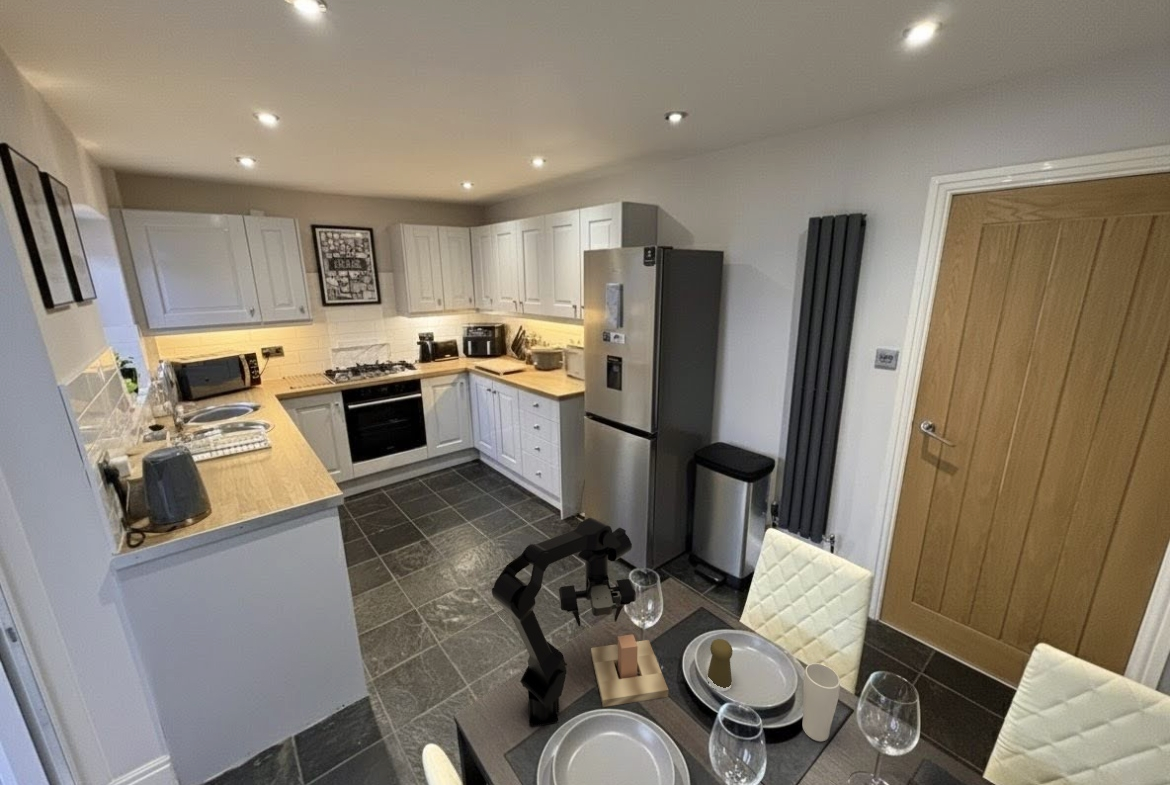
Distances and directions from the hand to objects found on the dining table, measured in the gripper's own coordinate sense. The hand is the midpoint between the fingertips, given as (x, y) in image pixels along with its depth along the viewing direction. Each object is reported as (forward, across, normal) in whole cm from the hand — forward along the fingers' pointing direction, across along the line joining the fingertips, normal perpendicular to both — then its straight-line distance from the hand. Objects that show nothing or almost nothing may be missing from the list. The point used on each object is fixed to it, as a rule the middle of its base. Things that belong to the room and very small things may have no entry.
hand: (597, 622), depth 117 cm
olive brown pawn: (+13, +29, -10) cm, 33 cm away
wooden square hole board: (+13, +7, -4) cm, 15 cm away
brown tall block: (+13, +7, -4) cm, 15 cm away
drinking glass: (+13, +44, -26) cm, 53 cm away
